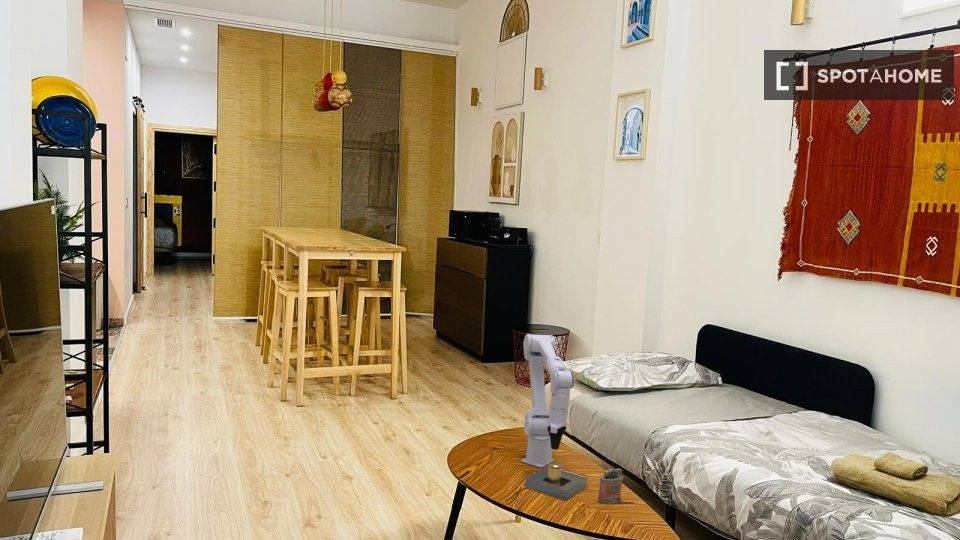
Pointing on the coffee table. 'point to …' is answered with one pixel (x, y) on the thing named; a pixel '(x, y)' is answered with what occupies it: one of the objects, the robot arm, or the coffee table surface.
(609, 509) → the coffee table surface
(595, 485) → the coffee table surface
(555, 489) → the jig
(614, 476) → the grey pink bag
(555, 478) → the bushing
